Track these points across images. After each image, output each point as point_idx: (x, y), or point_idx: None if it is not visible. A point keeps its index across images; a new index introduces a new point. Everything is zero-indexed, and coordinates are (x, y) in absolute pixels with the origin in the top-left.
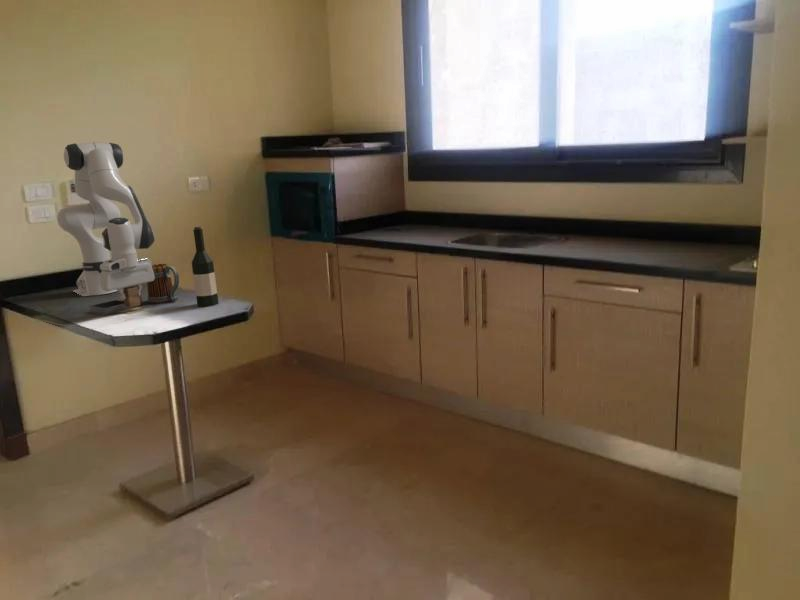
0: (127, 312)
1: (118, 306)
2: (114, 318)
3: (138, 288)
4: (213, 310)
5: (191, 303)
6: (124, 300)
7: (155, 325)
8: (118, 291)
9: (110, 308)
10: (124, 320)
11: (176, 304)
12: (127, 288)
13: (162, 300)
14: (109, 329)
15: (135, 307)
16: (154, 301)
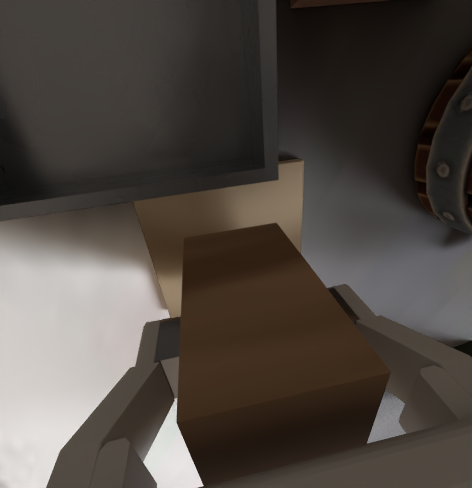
0: (176, 273)
1: (131, 198)
2: (73, 305)
3: (393, 375)
4: (379, 435)
5: (463, 313)
6: (184, 274)
7: (183, 478)
8: (79, 457)
9: (38, 210)
10: (115, 378)
11: (441, 276)
12: (233, 473)
13: (456, 227)
14: (21, 455)
15: (286, 166)
16: (430, 192)
